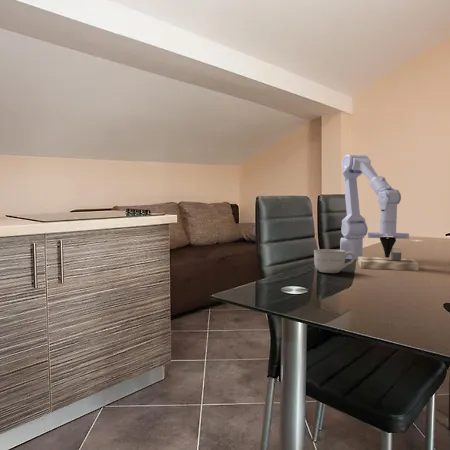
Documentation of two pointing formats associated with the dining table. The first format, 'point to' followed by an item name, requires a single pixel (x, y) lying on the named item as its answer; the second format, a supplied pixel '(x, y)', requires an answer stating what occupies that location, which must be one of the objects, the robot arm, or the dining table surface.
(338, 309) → the dining table surface
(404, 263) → the console
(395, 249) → the fader
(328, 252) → the teacup
